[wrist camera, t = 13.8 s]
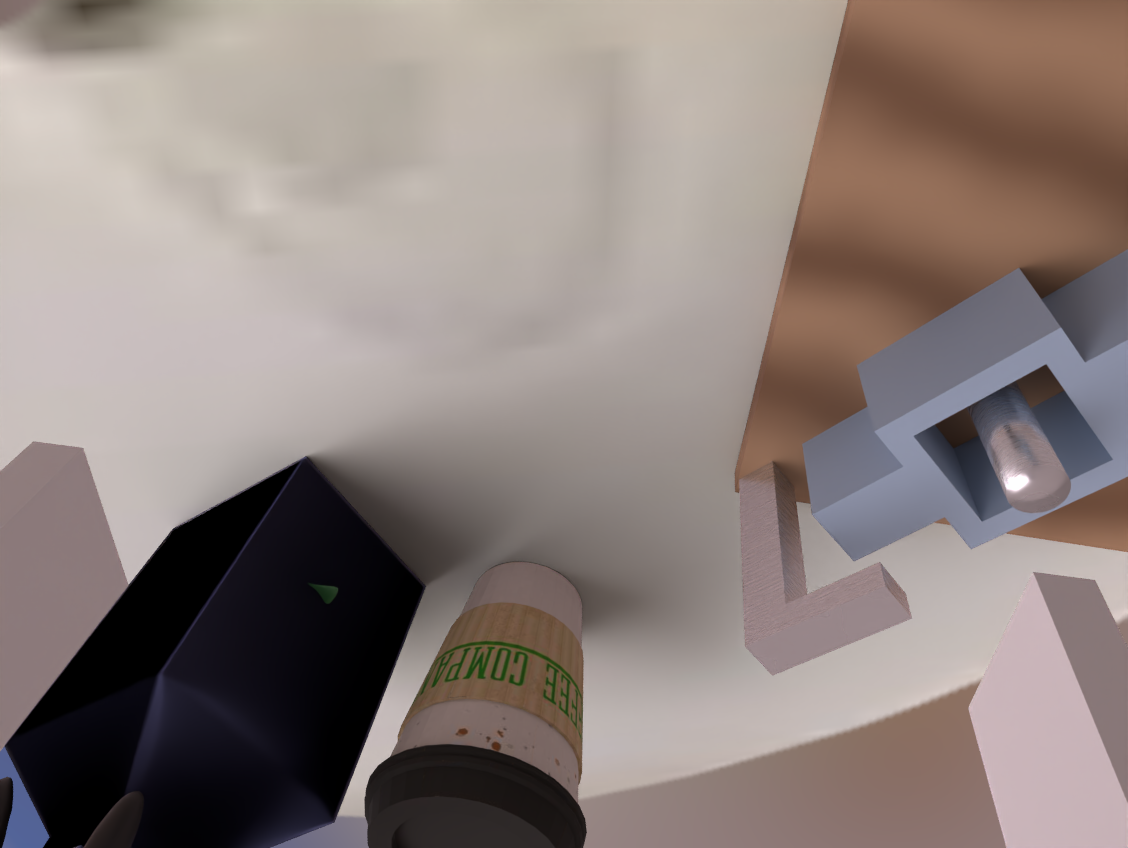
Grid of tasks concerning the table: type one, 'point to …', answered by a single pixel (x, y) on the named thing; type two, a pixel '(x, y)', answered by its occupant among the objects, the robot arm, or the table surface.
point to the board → (947, 207)
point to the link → (957, 380)
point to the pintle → (1019, 451)
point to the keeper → (801, 584)
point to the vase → (224, 680)
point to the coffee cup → (492, 726)
